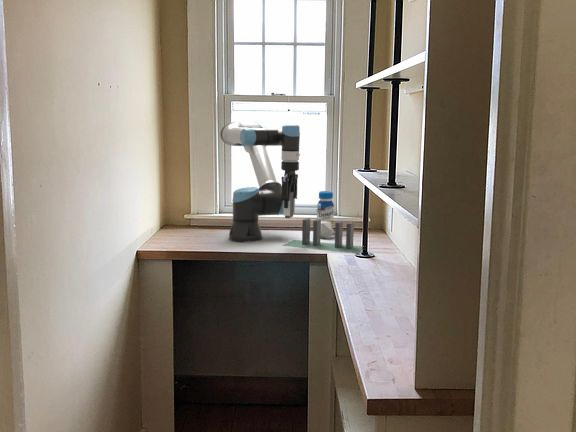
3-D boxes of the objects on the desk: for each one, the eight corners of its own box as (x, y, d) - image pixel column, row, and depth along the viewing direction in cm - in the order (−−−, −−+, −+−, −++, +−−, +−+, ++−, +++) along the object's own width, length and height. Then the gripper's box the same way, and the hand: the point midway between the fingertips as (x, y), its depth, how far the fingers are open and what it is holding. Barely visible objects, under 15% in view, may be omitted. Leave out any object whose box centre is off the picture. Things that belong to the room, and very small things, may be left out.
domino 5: (345, 248, 254) (346, 223, 252) (349, 246, 259) (349, 221, 257) (349, 249, 253) (350, 224, 251) (353, 247, 258) (354, 222, 256)
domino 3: (312, 245, 259) (313, 220, 258) (316, 243, 264) (317, 218, 262) (316, 245, 259) (317, 221, 257) (320, 243, 263) (321, 219, 261)
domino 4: (334, 247, 256) (335, 222, 254) (338, 245, 260) (338, 220, 258) (338, 248, 255) (339, 223, 253) (342, 245, 260) (342, 221, 258)
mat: (281, 246, 258) (281, 245, 258) (293, 240, 271) (293, 239, 271) (357, 254, 246) (357, 253, 246) (366, 247, 259) (366, 246, 259)
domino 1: (285, 218, 257) (285, 192, 255) (289, 216, 261) (289, 191, 259) (288, 218, 256) (289, 193, 254) (293, 216, 260) (293, 191, 258)
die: (336, 238, 279) (328, 221, 283) (336, 233, 271) (328, 214, 274) (320, 245, 279) (312, 227, 282) (319, 239, 271) (312, 221, 274)
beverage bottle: (332, 230, 295) (333, 190, 292) (334, 234, 287) (335, 193, 283) (315, 230, 294) (316, 190, 291) (317, 234, 286) (318, 193, 283)
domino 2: (302, 244, 261) (302, 219, 259) (305, 242, 266) (306, 218, 264) (305, 244, 261) (306, 220, 259) (309, 242, 265) (310, 218, 263)
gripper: (290, 163, 245) (289, 218, 249) (305, 159, 261) (304, 212, 265) (273, 162, 247) (272, 217, 251) (289, 159, 264) (288, 210, 268)
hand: (289, 214), depth 258 cm, fingers closed on domino 1, 5 cm apart
